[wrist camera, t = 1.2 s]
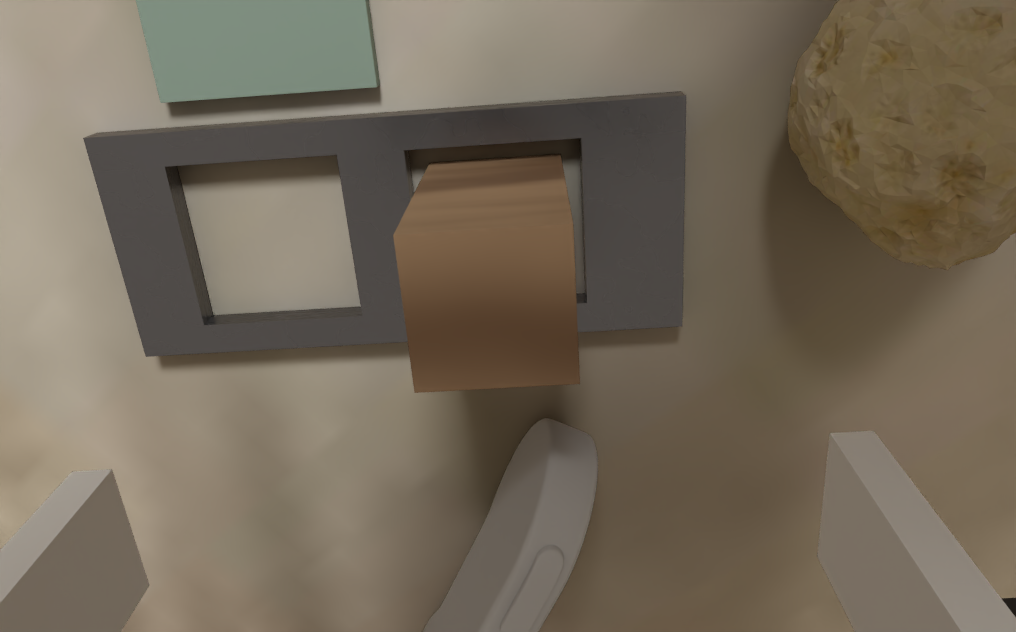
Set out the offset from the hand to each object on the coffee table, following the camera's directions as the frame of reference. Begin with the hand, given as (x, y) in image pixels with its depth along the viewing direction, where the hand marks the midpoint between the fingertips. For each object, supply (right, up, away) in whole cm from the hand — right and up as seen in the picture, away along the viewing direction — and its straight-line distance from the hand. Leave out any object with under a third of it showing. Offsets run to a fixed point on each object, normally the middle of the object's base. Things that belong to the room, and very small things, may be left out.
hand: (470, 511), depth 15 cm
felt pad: (-8, +16, +13) cm, 22 cm away
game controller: (0, -8, +23) cm, 25 cm away
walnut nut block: (0, +7, +16) cm, 18 cm away
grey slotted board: (-4, +7, +17) cm, 18 cm away
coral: (+14, +12, +14) cm, 23 cm away
